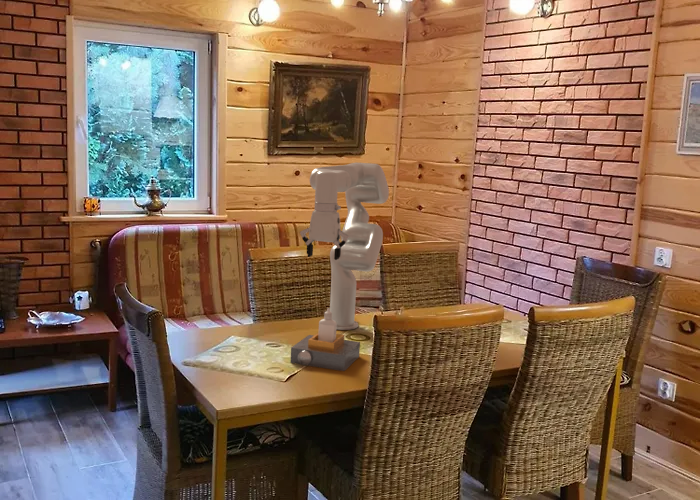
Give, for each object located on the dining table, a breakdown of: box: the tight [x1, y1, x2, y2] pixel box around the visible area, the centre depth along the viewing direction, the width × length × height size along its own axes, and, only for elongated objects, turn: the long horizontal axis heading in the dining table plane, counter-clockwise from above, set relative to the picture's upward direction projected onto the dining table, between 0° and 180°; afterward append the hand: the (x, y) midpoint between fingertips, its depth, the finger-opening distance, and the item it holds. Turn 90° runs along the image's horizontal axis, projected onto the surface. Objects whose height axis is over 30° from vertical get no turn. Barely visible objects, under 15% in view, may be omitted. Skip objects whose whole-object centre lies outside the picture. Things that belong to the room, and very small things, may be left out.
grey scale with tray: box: [290, 331, 361, 372], centre depth 234 cm, size 18×18×8 cm
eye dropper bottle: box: [317, 307, 337, 342], centre depth 232 cm, size 4×6×12 cm
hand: (323, 257), depth 247 cm, fingers open, 9 cm apart
